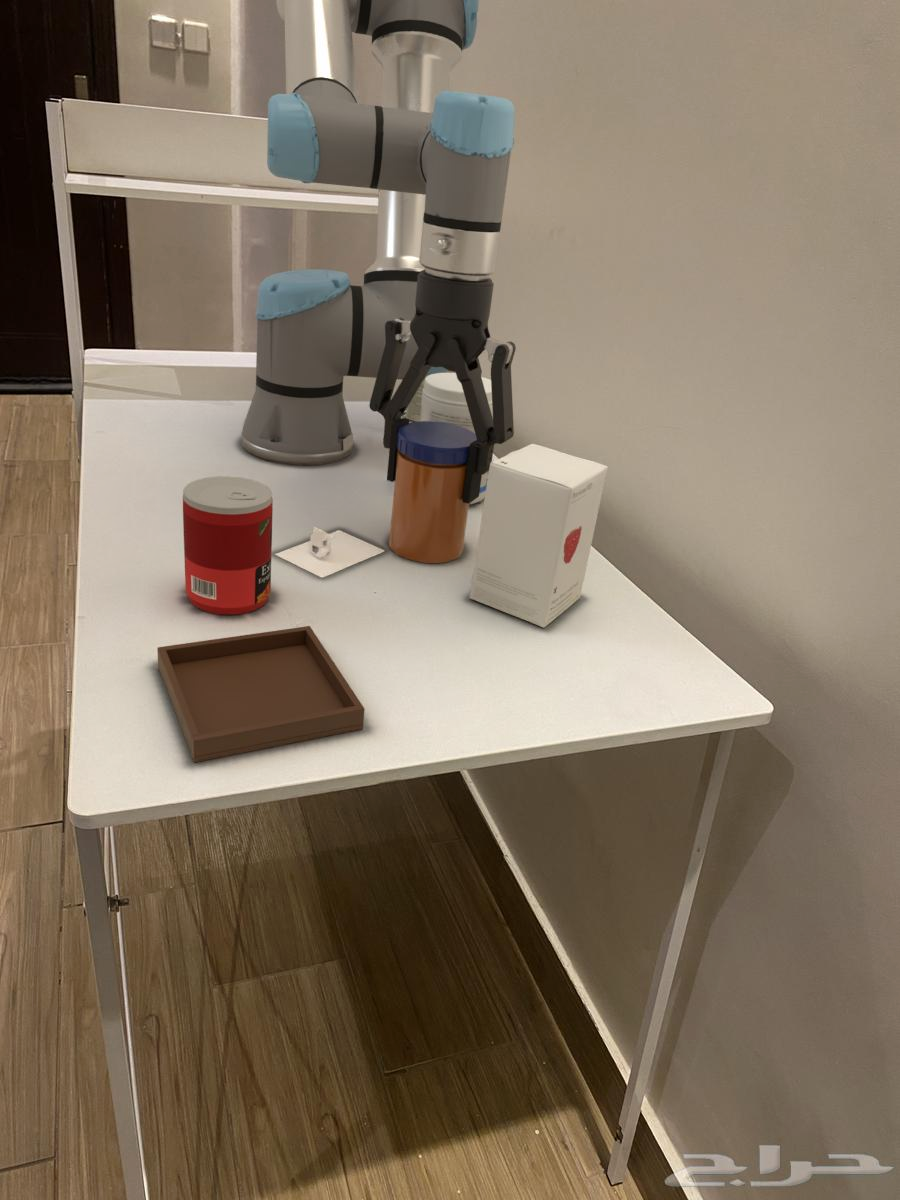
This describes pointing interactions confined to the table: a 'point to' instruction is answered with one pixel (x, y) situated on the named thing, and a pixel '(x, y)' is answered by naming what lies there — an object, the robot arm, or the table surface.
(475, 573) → the rectangular carton
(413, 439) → the lid
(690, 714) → the table surface
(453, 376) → the supplement tub
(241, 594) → the canned food
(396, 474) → the jar
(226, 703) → the tray
